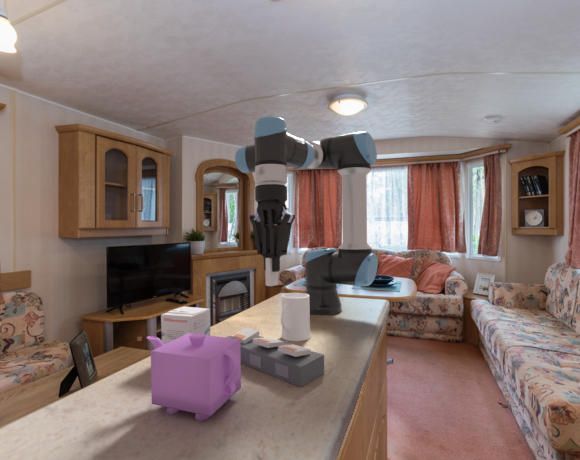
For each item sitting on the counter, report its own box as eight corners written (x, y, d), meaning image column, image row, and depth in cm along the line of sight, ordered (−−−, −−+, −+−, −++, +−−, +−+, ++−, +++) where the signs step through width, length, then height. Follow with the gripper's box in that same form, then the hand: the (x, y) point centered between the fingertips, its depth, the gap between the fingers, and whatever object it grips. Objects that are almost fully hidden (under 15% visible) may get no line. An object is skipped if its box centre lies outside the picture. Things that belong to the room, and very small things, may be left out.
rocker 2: (267, 341, 80) (268, 336, 80) (282, 345, 77) (283, 340, 77) (252, 342, 76) (253, 337, 77) (268, 347, 73) (268, 342, 73)
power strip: (230, 341, 92) (230, 327, 92) (324, 373, 71) (324, 354, 71) (206, 350, 86) (205, 334, 86) (300, 387, 65) (300, 367, 65)
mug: (292, 347, 87) (292, 302, 87) (267, 341, 92) (267, 298, 92) (316, 335, 96) (315, 294, 96) (292, 330, 102) (292, 291, 101)
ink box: (212, 353, 84) (211, 307, 84) (191, 367, 76) (190, 316, 76) (183, 350, 86) (182, 305, 86) (160, 362, 78) (160, 313, 78)
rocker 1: (246, 330, 86) (245, 326, 85) (259, 334, 82) (258, 330, 82) (231, 339, 82) (230, 335, 82) (244, 343, 79) (243, 339, 78)
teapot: (253, 398, 62) (252, 330, 61) (224, 429, 52) (222, 350, 52) (166, 381, 68) (165, 321, 68) (126, 407, 59) (125, 337, 59)
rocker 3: (292, 348, 75) (293, 343, 75) (310, 354, 72) (310, 348, 72) (277, 351, 71) (278, 345, 71) (295, 356, 68) (296, 350, 68)
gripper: (240, 186, 79) (241, 284, 79) (280, 180, 71) (281, 290, 71) (262, 188, 85) (263, 280, 85) (302, 184, 76) (303, 286, 76)
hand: (272, 285), depth 78 cm, fingers closed
